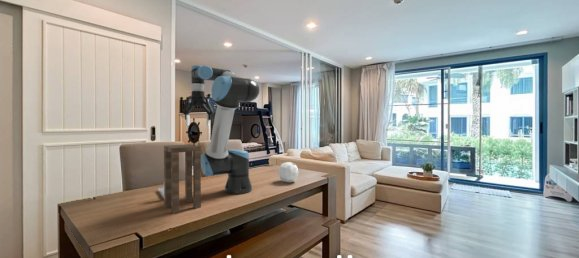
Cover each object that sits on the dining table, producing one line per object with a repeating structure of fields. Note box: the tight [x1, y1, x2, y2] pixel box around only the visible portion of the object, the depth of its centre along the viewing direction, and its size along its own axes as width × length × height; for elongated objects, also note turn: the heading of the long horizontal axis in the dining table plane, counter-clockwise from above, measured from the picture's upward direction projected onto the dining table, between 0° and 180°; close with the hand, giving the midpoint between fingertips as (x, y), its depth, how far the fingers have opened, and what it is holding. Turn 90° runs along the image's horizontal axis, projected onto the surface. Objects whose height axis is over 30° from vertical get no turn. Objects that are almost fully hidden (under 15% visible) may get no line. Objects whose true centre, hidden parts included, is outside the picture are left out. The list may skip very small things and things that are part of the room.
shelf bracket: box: [158, 186, 164, 200], centre depth 133 cm, size 20×3×10 cm, turn 36°
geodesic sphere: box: [277, 161, 299, 184], centre depth 163 cm, size 14×14×14 cm
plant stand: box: [163, 143, 202, 214], centre depth 115 cm, size 13×12×28 cm
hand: (198, 125), depth 156 cm, fingers open, 13 cm apart
